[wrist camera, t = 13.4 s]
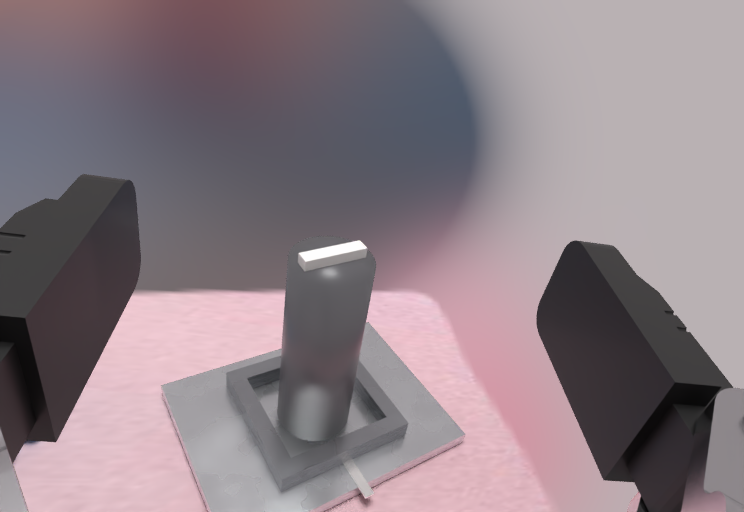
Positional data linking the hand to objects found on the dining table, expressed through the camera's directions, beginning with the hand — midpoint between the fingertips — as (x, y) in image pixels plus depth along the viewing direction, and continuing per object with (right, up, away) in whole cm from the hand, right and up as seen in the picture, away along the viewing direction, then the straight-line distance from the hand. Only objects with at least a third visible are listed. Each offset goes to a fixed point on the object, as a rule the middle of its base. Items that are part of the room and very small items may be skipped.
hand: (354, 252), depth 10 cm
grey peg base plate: (-4, -11, +25) cm, 27 cm away
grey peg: (-4, -10, +24) cm, 27 cm away
